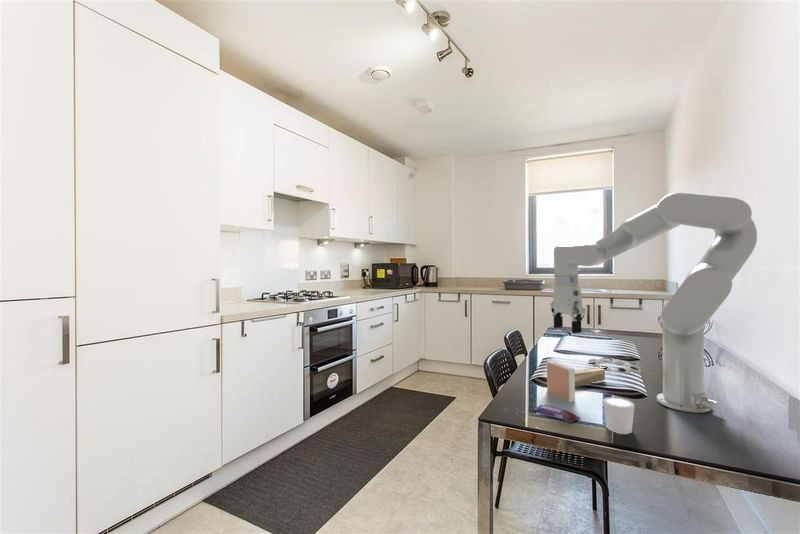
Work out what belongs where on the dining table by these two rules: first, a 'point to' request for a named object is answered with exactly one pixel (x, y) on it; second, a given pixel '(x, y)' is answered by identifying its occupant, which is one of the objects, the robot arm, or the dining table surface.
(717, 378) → the dining table surface
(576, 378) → the tan wooden plank
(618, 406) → the white cylinder
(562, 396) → the tile
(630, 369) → the paint palette
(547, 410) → the snack package
